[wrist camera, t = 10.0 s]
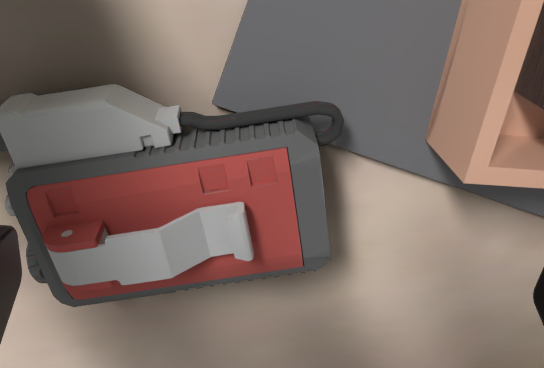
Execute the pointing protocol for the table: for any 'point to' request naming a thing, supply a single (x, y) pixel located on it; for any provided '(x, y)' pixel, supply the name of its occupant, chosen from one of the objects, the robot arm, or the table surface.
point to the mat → (356, 76)
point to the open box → (489, 98)
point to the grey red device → (162, 192)
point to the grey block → (533, 67)
